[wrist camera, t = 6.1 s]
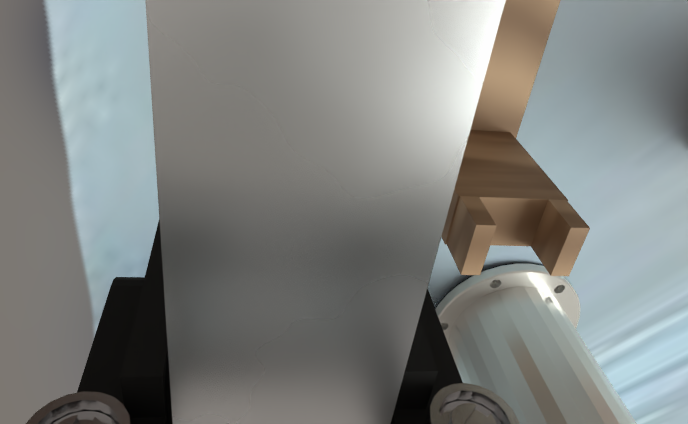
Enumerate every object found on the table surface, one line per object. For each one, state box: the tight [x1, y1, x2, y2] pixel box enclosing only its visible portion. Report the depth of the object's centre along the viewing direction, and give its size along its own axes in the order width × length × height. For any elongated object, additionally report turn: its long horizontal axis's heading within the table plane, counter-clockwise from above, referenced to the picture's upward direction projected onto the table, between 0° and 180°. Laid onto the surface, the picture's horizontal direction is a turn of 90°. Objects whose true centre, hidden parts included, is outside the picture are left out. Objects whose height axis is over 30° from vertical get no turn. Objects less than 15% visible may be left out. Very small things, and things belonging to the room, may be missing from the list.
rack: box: [441, 0, 590, 276], centre depth 28 cm, size 26×7×12 cm, turn 173°
